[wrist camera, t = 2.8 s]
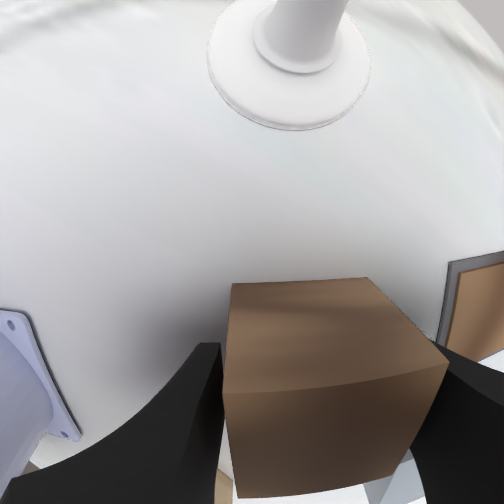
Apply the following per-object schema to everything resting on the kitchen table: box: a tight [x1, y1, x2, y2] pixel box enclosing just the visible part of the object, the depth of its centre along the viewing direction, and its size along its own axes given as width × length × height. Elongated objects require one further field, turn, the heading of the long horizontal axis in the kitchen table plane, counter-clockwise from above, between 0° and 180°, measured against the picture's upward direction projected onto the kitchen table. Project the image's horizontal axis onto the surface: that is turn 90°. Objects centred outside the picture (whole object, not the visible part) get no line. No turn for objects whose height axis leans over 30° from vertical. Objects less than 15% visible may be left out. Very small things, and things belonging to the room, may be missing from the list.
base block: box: [363, 449, 425, 504], centre depth 11 cm, size 7×7×4 cm
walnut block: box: [222, 277, 449, 498], centre depth 8 cm, size 4×4×5 cm
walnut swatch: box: [436, 251, 504, 362], centre depth 10 cm, size 6×6×1 cm
